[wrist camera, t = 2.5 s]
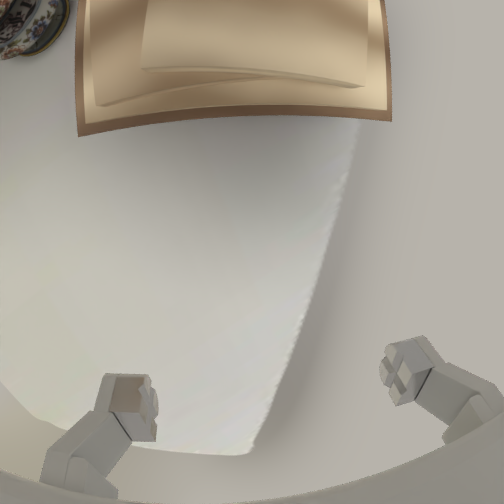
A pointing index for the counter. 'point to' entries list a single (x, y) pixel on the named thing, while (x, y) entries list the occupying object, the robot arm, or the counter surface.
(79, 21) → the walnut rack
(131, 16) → the offcut stack
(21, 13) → the apothecary jar
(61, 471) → the robot arm
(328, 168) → the counter surface
